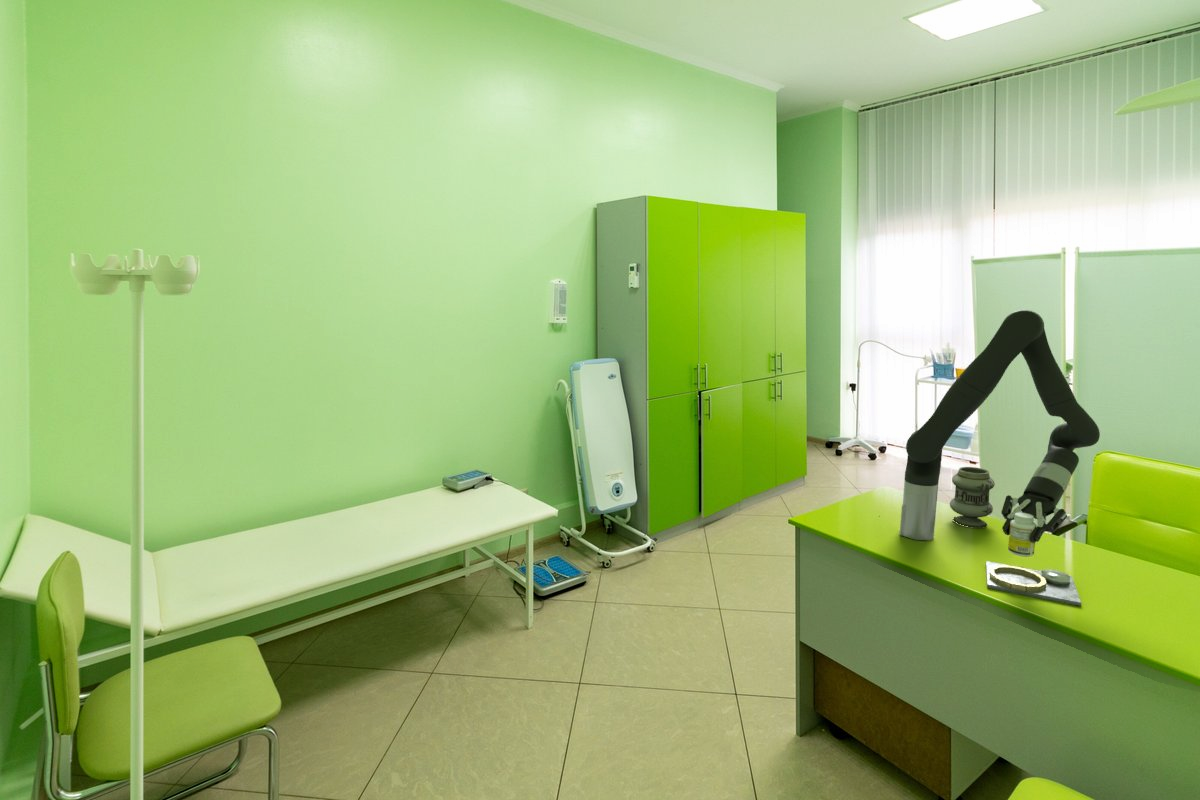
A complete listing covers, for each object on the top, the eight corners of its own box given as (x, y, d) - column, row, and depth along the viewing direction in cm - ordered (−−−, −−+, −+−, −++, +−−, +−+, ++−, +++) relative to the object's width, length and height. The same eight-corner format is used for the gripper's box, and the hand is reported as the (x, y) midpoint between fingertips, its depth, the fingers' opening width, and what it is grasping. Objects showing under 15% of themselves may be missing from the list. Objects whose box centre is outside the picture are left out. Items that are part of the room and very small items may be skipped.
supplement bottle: (1020, 547, 160) (1024, 510, 159) (1039, 556, 155) (1043, 517, 153) (1002, 549, 159) (1005, 512, 158) (1020, 558, 154) (1024, 519, 152)
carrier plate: (987, 587, 156) (988, 578, 156) (985, 564, 170) (986, 555, 170) (1080, 606, 147) (1082, 596, 146) (1071, 580, 160) (1072, 571, 160)
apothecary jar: (948, 514, 209) (953, 462, 206) (990, 520, 203) (995, 467, 200) (947, 525, 199) (952, 471, 196) (991, 532, 193) (997, 477, 190)
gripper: (1013, 469, 164) (984, 520, 160) (1075, 482, 151) (1045, 538, 148) (1022, 485, 167) (993, 535, 163) (1084, 499, 155) (1054, 554, 151)
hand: (1018, 537), depth 156 cm, fingers closed on supplement bottle, 5 cm apart
